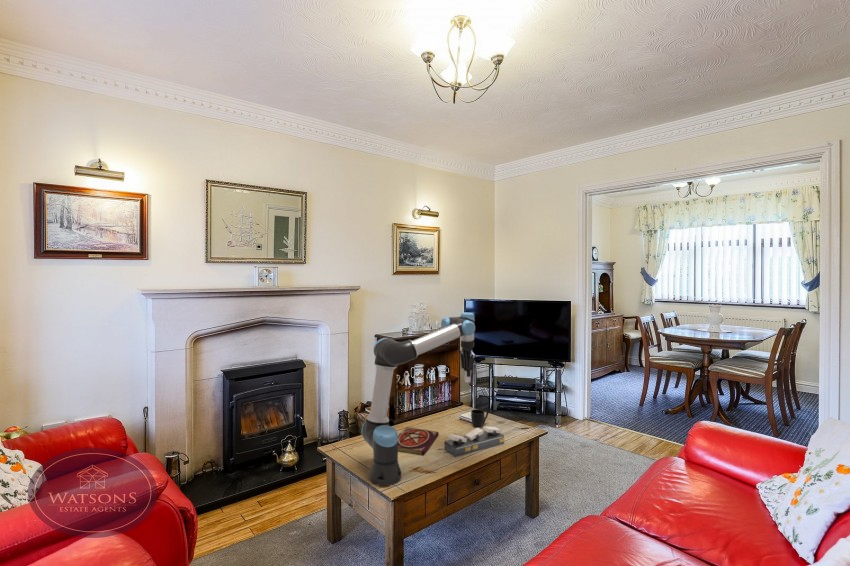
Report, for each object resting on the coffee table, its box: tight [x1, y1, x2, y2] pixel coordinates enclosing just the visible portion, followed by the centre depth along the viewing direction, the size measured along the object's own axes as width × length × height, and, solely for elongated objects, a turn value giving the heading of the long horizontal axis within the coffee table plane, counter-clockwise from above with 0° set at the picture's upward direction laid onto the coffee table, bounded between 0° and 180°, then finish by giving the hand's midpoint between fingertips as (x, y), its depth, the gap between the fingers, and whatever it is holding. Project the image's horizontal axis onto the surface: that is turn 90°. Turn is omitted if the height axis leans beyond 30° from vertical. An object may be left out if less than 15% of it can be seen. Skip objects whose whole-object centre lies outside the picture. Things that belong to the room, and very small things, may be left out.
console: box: [443, 430, 505, 458], centre depth 237 cm, size 34×10×5 cm, turn 120°
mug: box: [470, 408, 489, 429], centre depth 268 cm, size 8×12×10 cm
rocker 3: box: [482, 425, 502, 435], centre depth 243 cm, size 9×5×3 cm, turn 121°
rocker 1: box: [448, 433, 467, 444], centre depth 231 cm, size 9×5×3 cm, turn 121°
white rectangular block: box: [464, 428, 484, 441], centre depth 237 cm, size 9×5×3 cm, turn 120°
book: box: [398, 426, 440, 456], centre depth 243 cm, size 28×21×5 cm
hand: (467, 381), depth 237 cm, fingers closed
